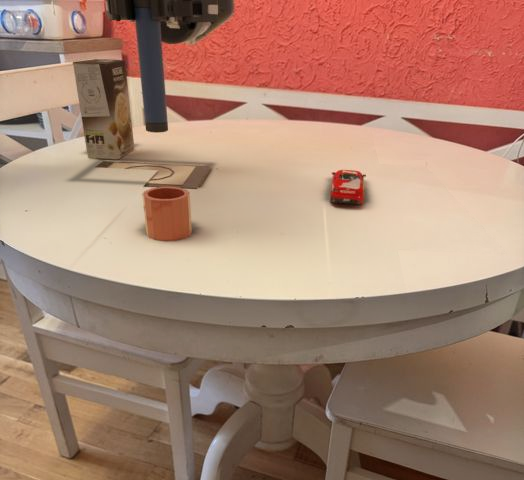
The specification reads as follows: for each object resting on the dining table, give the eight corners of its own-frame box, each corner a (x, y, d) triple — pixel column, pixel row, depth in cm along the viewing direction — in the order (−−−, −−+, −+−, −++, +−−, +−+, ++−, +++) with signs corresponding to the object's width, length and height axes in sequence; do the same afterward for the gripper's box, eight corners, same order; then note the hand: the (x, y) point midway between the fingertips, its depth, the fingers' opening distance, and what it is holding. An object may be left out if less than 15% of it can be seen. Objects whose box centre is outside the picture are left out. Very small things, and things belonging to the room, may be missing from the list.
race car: (331, 183, 86) (334, 159, 84) (363, 185, 85) (366, 161, 83) (326, 207, 75) (329, 180, 73) (362, 210, 75) (366, 183, 72)
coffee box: (119, 160, 95) (106, 63, 86) (86, 158, 96) (71, 61, 86) (135, 149, 102) (125, 59, 93) (105, 147, 103) (93, 57, 94)
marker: (142, 132, 58) (127, -18, 50) (148, 127, 60) (135, -17, 52) (165, 133, 58) (153, -17, 50) (170, 128, 60) (160, -16, 52)
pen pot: (142, 243, 62) (137, 199, 59) (153, 227, 67) (149, 185, 64) (186, 245, 62) (183, 201, 59) (195, 229, 66) (193, 187, 63)
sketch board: (74, 185, 81) (73, 180, 80) (103, 164, 92) (102, 159, 92) (196, 192, 80) (196, 187, 79) (210, 169, 91) (210, 164, 91)
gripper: (119, -31, 62) (62, -43, 48) (230, -28, 61) (206, -39, 47) (127, 40, 66) (76, 48, 52) (231, 44, 66) (209, 53, 51)
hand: (138, 7), depth 50 cm, fingers closed on marker, 2 cm apart
